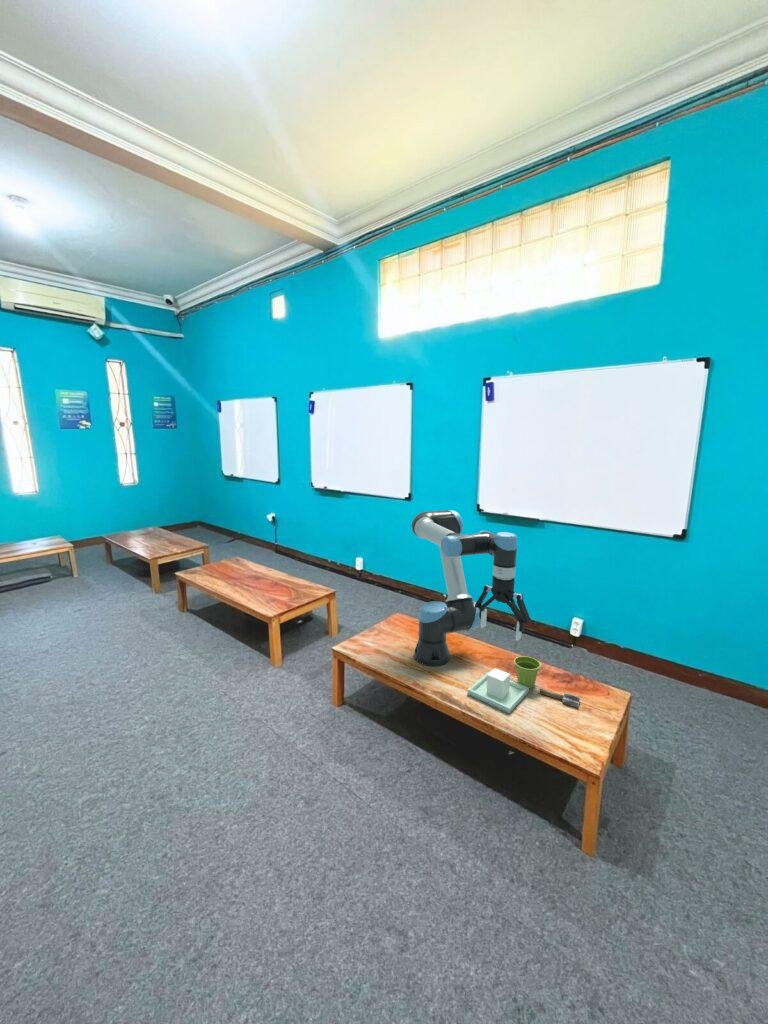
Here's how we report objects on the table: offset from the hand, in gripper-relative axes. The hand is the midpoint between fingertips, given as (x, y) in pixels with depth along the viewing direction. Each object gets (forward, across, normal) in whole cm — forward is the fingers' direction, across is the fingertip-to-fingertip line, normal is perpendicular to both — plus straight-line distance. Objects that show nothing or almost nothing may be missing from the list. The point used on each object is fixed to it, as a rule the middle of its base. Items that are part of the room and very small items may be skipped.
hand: (500, 632), depth 144 cm
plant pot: (+23, +6, +11) cm, 26 cm away
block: (+22, +1, -2) cm, 22 cm away
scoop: (+23, +19, +10) cm, 31 cm away
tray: (+23, +1, -2) cm, 23 cm away
